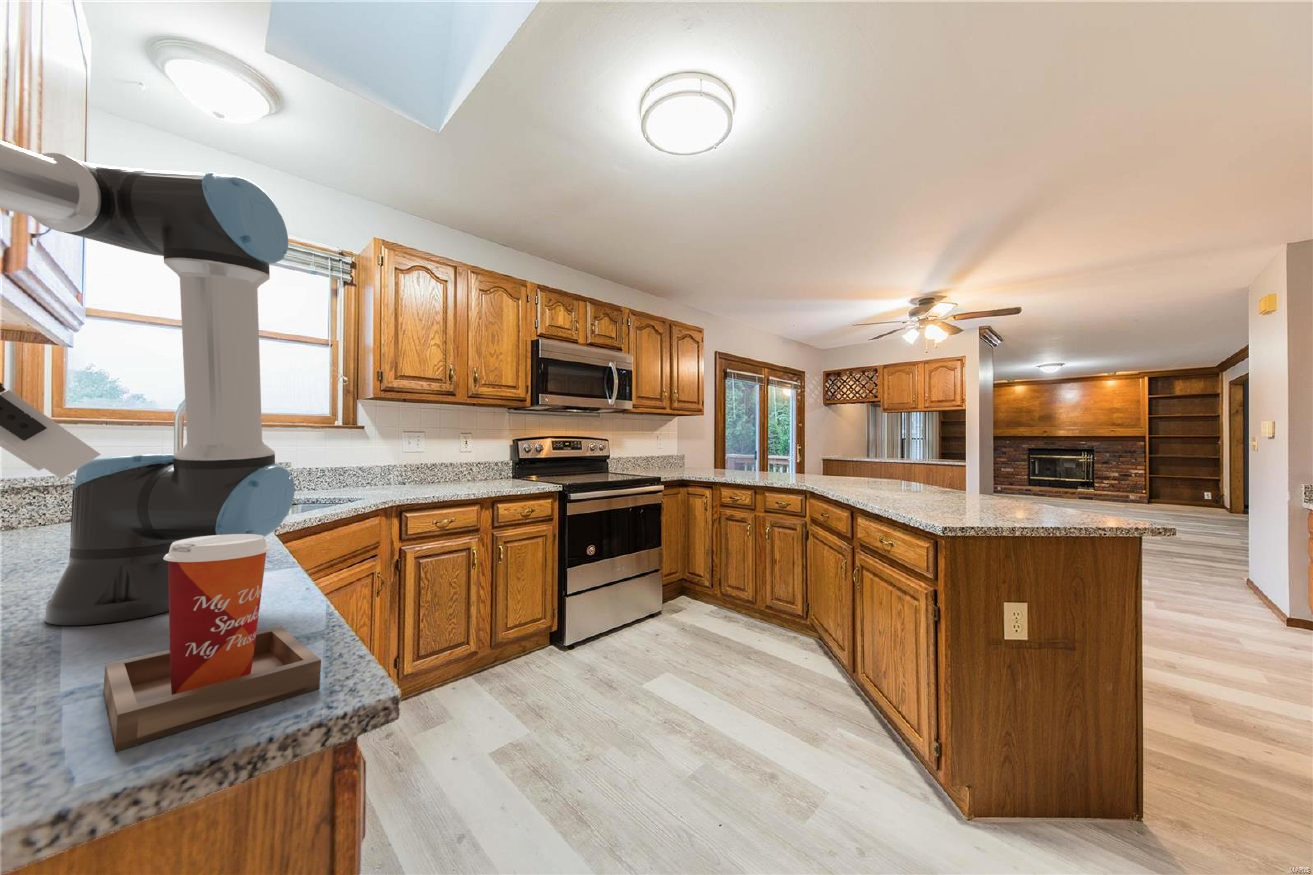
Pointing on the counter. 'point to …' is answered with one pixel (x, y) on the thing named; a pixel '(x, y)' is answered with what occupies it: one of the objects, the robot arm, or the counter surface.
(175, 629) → the coffee cup
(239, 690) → the walnut tray
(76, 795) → the counter surface
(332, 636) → the counter surface
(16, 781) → the counter surface
